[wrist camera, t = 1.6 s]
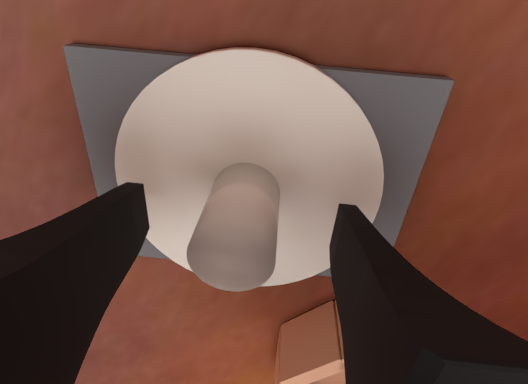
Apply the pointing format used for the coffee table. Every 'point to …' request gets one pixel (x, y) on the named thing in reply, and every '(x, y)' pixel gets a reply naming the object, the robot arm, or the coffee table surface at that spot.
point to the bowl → (311, 348)
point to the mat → (353, 80)
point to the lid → (248, 165)
